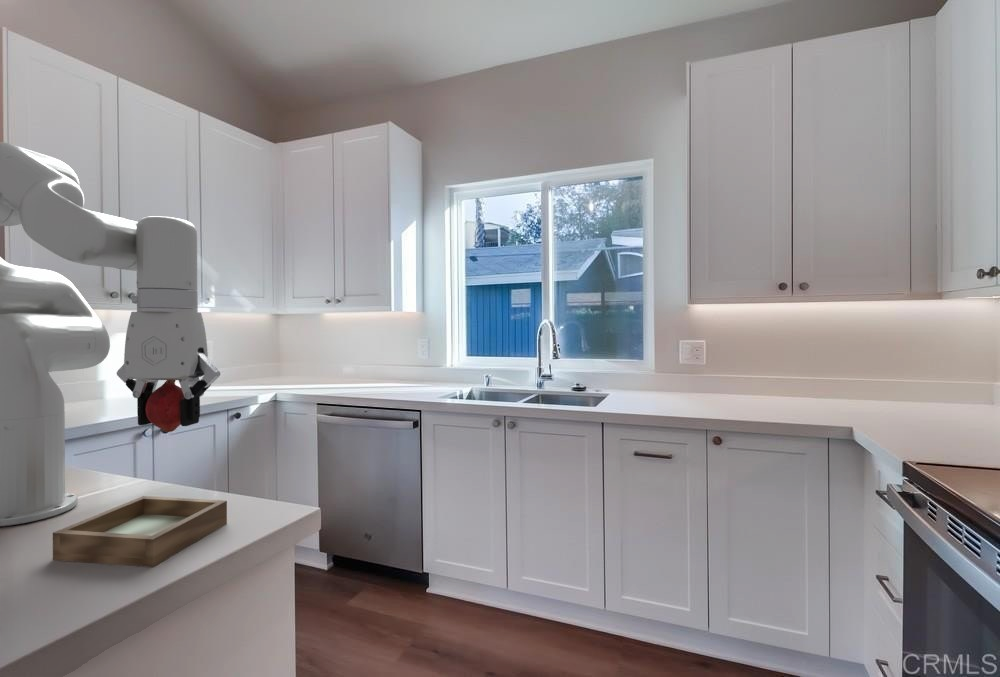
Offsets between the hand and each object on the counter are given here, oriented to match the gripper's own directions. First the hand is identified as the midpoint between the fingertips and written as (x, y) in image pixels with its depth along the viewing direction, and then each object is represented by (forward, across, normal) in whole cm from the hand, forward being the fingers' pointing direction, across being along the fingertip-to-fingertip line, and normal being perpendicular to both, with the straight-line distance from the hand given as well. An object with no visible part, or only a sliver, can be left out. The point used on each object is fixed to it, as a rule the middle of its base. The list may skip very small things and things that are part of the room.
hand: (169, 422), depth 75 cm
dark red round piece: (+2, 0, 0) cm, 2 cm away
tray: (+16, 0, -5) cm, 16 cm away
